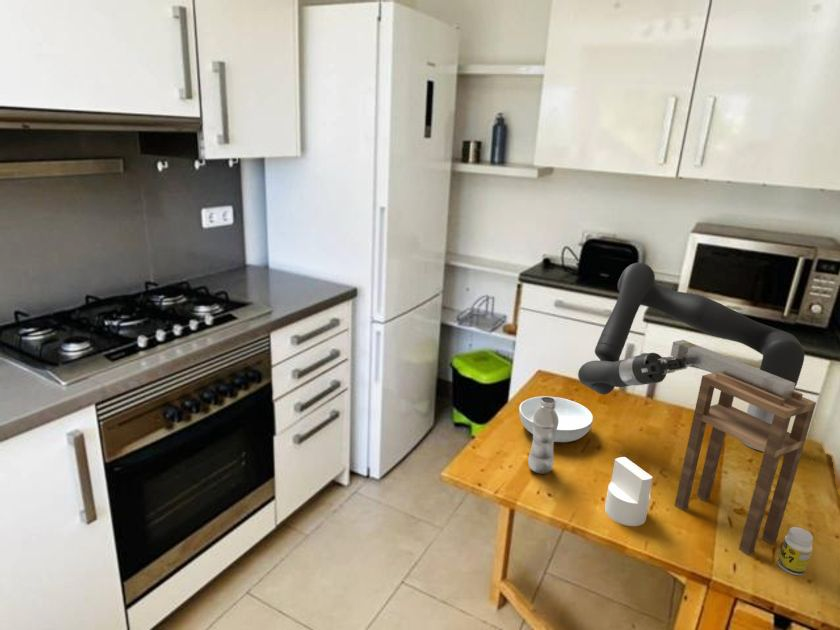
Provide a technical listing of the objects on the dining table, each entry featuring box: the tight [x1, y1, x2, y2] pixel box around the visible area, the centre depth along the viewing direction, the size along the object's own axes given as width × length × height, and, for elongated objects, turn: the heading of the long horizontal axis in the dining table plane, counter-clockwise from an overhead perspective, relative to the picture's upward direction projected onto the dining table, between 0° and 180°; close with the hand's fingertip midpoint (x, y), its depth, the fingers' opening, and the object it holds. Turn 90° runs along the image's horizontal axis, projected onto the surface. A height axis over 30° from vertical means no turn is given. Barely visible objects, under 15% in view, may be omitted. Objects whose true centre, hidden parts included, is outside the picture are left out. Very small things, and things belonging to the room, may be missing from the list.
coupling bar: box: [669, 339, 796, 401], centre depth 120 cm, size 4×26×4 cm, turn 27°
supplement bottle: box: [777, 526, 814, 576], centre depth 111 cm, size 5×5×8 cm
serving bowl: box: [518, 395, 594, 443], centre depth 160 cm, size 21×21×7 cm
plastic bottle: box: [527, 396, 559, 475], centre depth 139 cm, size 6×7×20 cm
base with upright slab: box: [604, 456, 654, 527], centre depth 125 cm, size 9×9×12 cm
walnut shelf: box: [674, 372, 817, 556], centre depth 119 cm, size 10×18×35 cm, turn 28°
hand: (696, 360), depth 126 cm, fingers open, 8 cm apart
